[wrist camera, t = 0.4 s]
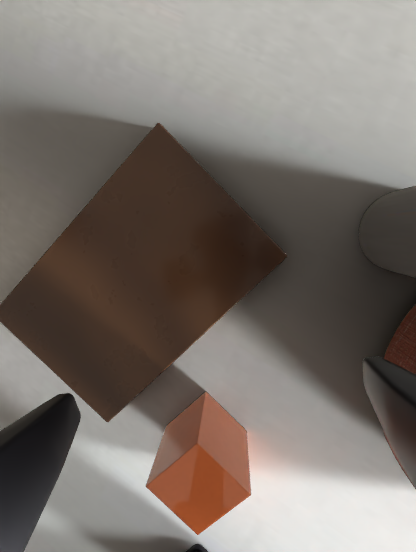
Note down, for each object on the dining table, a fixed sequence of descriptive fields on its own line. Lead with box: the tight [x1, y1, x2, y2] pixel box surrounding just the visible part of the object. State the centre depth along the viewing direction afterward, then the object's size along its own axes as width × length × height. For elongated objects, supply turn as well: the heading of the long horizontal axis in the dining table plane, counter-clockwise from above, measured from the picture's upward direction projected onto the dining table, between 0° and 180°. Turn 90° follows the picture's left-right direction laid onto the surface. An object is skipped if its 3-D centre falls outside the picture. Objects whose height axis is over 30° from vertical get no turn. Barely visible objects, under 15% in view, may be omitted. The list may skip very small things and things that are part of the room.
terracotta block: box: [146, 392, 251, 535], centre depth 22 cm, size 5×5×6 cm
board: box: [0, 123, 287, 422], centre depth 22 cm, size 20×13×2 cm, turn 135°
